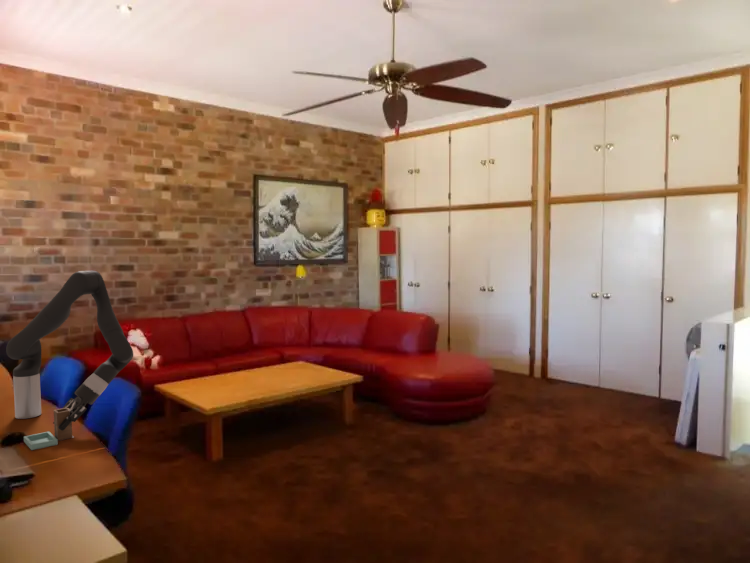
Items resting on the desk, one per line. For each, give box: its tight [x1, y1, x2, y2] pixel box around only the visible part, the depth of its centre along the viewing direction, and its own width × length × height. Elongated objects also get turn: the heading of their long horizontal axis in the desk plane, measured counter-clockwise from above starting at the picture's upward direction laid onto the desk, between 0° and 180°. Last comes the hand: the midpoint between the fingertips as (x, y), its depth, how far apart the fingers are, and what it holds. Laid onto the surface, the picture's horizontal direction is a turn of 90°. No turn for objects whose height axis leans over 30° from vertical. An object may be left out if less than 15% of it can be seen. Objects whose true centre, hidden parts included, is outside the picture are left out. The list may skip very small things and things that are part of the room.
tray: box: [23, 430, 59, 451], centre depth 196 cm, size 12×8×2 cm
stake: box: [58, 435, 75, 442], centre depth 202 cm, size 6×6×6 cm
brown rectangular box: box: [53, 407, 73, 441], centre depth 201 cm, size 5×5×10 cm
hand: (57, 426), depth 200 cm, fingers open, 6 cm apart
